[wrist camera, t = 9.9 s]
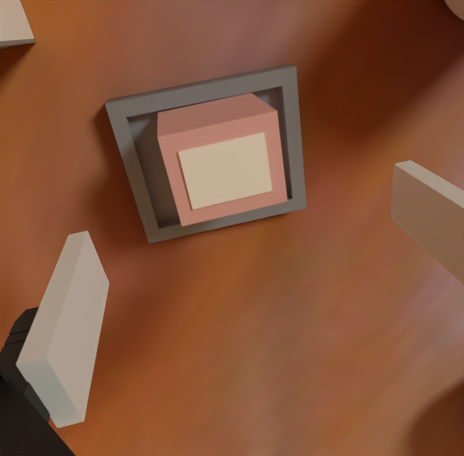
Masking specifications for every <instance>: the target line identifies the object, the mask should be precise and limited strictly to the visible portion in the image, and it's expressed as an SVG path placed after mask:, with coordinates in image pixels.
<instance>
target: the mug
mask: <svg viewBox="0 0 464 456" xmlns="http://www.w3.org/2000/svg"><path fill="white" fill-rule="evenodd" d="M444 1H445V3H446V4H447V6H448V7H449V9H450V10H451V11H452V12H453V13H454V14H455V15H456V16H457V17H458V18H460V19H462V20H463V21H464V0H444Z"/></svg>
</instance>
